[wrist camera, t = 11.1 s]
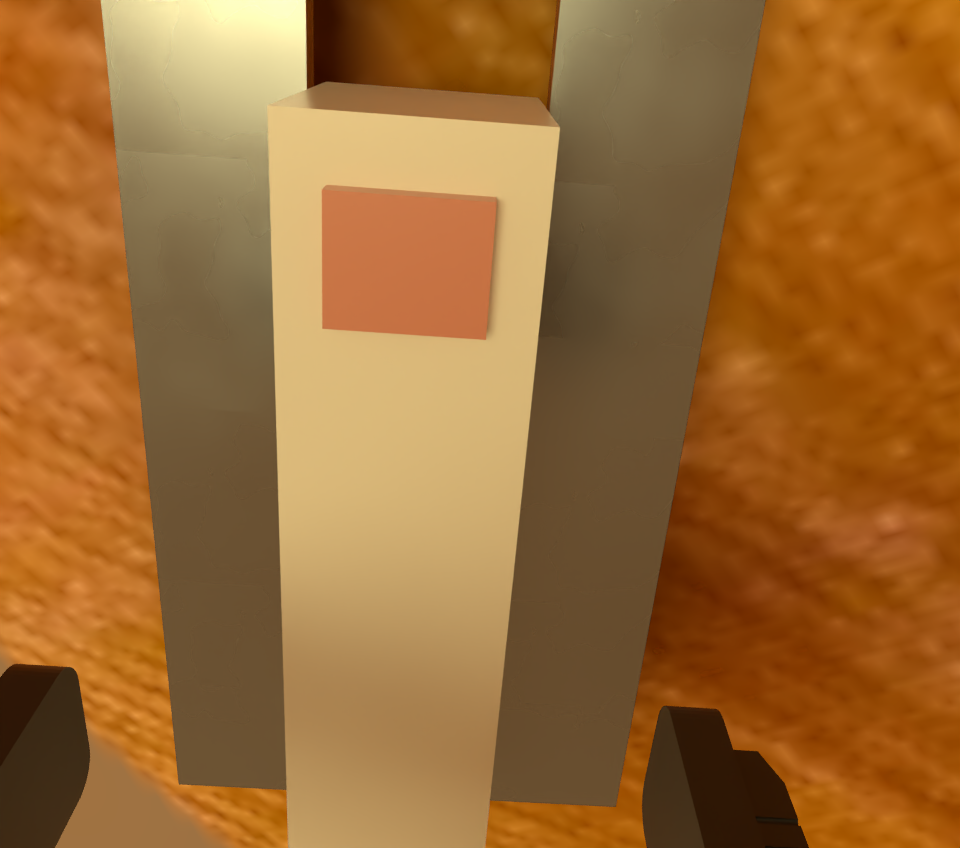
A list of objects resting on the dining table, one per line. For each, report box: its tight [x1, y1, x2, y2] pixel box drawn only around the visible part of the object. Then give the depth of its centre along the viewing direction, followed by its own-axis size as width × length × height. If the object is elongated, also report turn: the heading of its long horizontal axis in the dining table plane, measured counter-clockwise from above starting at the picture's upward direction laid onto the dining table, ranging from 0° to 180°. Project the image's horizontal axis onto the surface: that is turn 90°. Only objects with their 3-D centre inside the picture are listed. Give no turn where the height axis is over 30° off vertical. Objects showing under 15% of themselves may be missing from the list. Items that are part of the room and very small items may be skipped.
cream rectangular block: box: [267, 82, 560, 848], centre depth 19 cm, size 16×4×8 cm, turn 176°
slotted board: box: [101, 0, 765, 807], centre depth 21 cm, size 24×12×4 cm, turn 176°
